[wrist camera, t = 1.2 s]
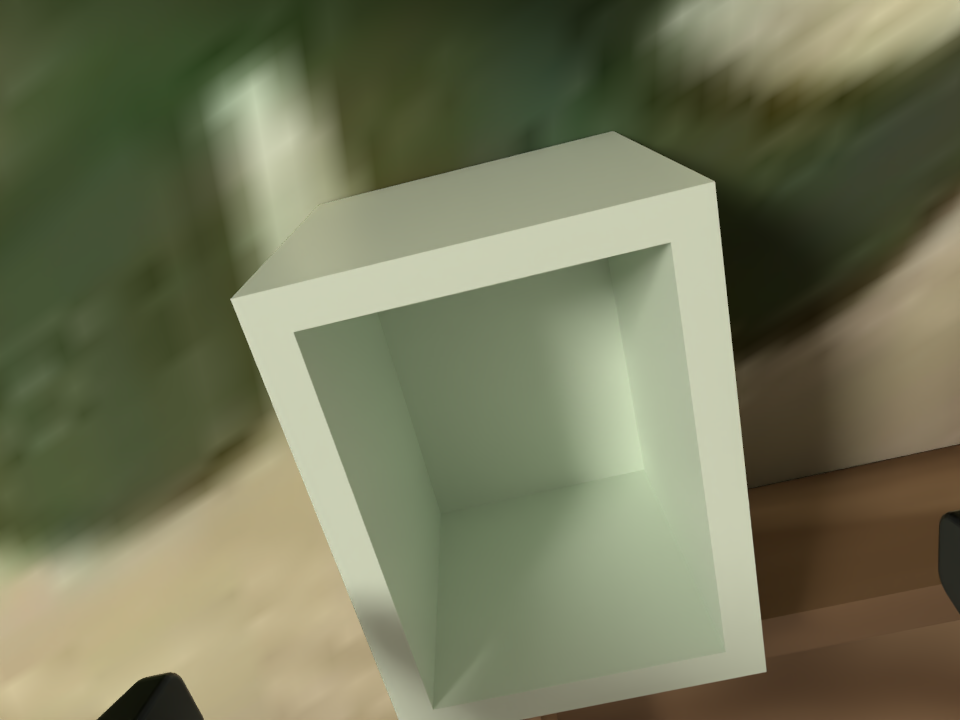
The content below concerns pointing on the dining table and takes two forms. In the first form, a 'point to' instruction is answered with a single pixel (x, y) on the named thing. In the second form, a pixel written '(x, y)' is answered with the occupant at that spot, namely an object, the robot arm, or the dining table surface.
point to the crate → (840, 604)
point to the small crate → (521, 428)
